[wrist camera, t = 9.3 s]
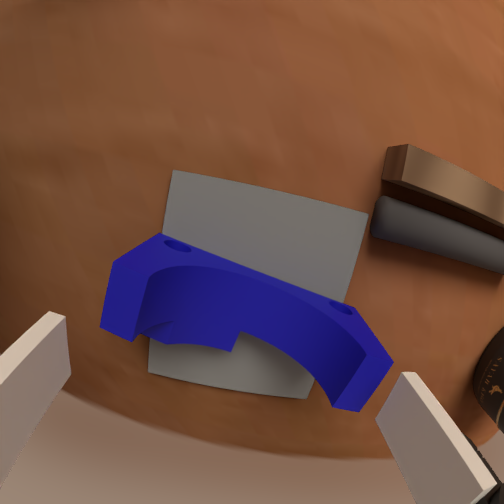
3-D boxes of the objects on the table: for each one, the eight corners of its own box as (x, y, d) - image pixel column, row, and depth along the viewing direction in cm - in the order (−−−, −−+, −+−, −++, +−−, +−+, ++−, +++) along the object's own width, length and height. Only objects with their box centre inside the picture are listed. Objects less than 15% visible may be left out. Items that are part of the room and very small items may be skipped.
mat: (149, 367, 19) (147, 371, 18) (175, 170, 16) (173, 169, 15) (305, 394, 20) (306, 398, 19) (365, 213, 17) (368, 214, 16)
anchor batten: (381, 179, 16) (401, 180, 14) (387, 147, 16) (408, 143, 13) (515, 234, 17) (535, 241, 15) (520, 211, 17) (541, 215, 14)
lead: (366, 229, 17) (380, 243, 15) (377, 191, 17) (394, 200, 14) (501, 270, 18) (518, 282, 16) (512, 243, 18) (530, 254, 15)
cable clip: (139, 302, 17) (95, 354, 11) (159, 232, 16) (113, 261, 10) (320, 367, 18) (342, 432, 12) (354, 307, 17) (393, 362, 11)
